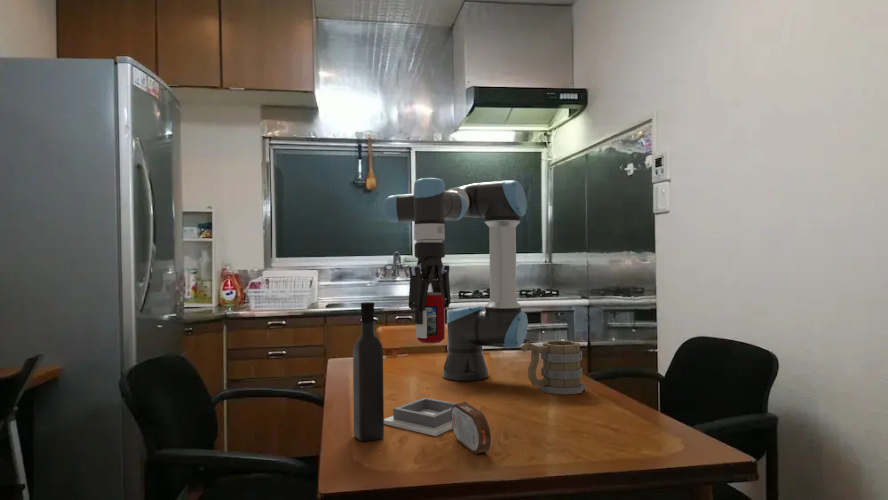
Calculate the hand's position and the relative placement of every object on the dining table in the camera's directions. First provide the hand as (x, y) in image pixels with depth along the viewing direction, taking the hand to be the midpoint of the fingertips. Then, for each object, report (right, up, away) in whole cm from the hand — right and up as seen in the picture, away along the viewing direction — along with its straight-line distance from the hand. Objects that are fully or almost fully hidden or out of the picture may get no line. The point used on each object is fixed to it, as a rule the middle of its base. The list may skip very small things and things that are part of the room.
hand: (430, 335), depth 131 cm
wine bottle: (-14, -21, -12) cm, 28 cm away
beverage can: (0, -2, 0) cm, 2 cm away
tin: (+9, -21, -18) cm, 29 cm away
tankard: (+35, -21, +28) cm, 50 cm away
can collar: (0, -21, 0) cm, 21 cm away
